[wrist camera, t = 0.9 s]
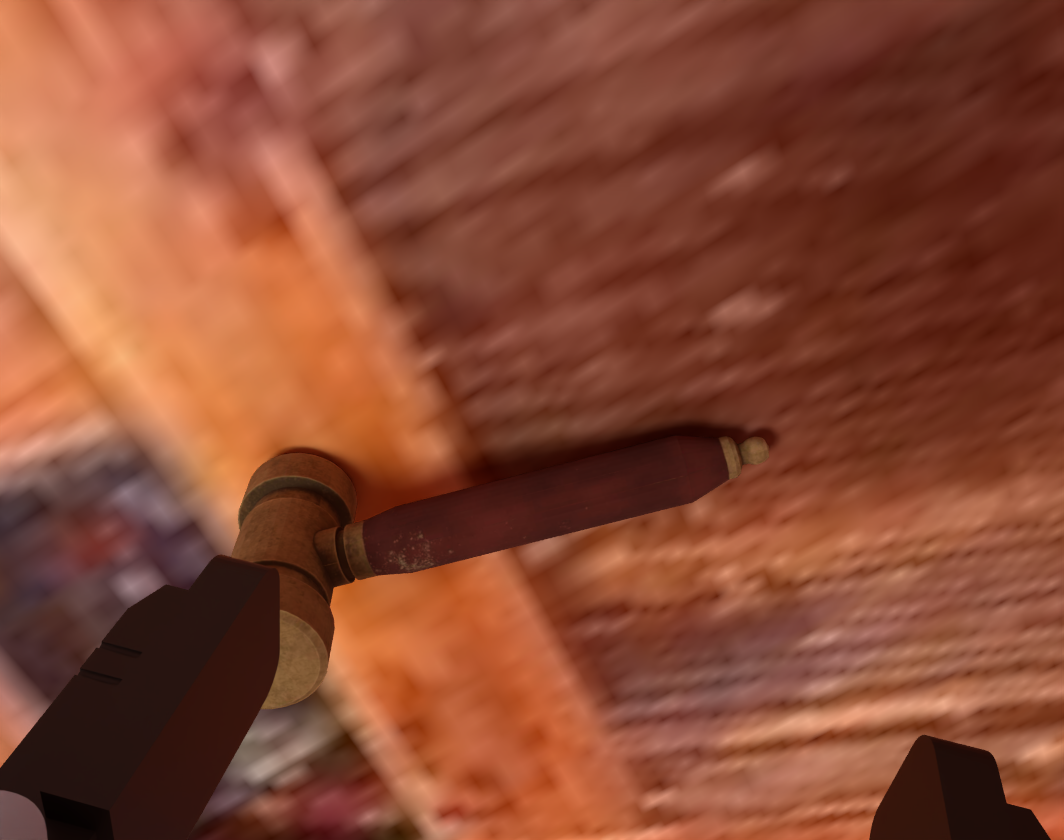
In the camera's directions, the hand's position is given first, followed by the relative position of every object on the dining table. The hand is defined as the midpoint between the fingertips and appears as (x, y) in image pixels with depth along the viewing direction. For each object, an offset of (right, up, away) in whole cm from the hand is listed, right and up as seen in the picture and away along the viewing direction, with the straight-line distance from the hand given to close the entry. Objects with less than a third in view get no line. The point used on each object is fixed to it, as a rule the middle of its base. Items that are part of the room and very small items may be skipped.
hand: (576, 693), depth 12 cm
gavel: (-2, +2, +29) cm, 29 cm away
